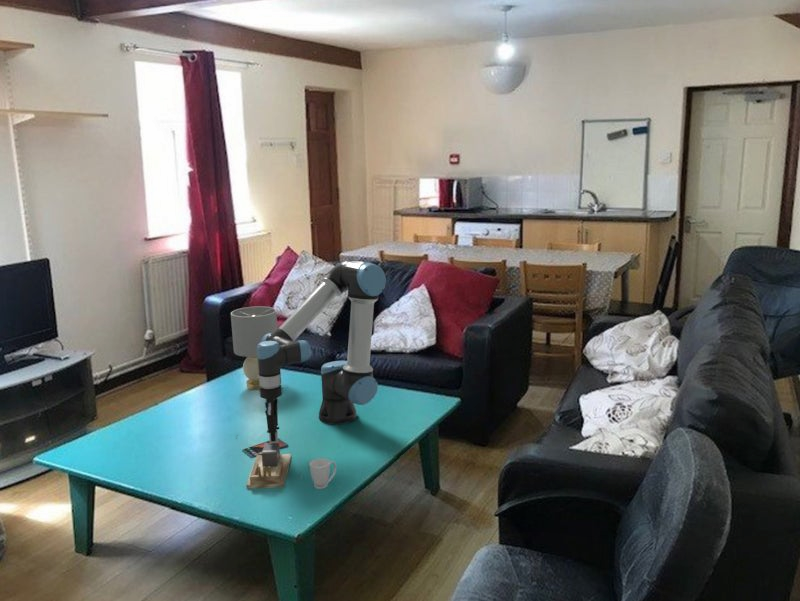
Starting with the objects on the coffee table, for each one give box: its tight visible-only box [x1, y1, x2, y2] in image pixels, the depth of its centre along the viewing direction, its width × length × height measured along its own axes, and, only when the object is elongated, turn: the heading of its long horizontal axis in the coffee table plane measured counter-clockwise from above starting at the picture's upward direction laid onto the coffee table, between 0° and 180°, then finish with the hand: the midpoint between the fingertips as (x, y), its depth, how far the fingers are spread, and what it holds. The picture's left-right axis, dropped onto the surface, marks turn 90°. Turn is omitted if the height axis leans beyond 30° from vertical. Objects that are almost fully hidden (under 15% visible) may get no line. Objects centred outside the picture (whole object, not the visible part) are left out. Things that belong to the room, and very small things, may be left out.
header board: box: [246, 453, 292, 489], centre depth 234 cm, size 12×22×7 cm, turn 3°
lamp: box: [230, 306, 278, 391], centre depth 315 cm, size 20×20×35 cm
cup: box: [308, 457, 337, 490], centre depth 225 cm, size 7×10×8 cm
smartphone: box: [241, 437, 289, 459], centre depth 253 cm, size 8×1×15 cm
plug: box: [262, 443, 281, 467], centre depth 239 cm, size 5×8×5 cm, turn 3°
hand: (274, 448), depth 247 cm, fingers closed
